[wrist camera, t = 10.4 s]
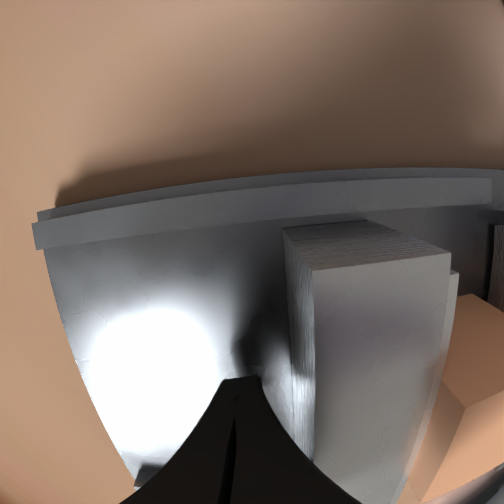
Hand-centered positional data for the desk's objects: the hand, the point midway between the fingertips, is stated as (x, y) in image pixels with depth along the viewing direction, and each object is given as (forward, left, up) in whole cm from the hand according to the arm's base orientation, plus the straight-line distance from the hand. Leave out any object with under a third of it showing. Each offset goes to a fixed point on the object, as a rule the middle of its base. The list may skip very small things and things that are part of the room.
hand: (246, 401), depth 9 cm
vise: (-3, 0, -2) cm, 4 cm away
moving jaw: (-3, 0, -1) cm, 3 cm away
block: (-7, 0, -1) cm, 7 cm away
